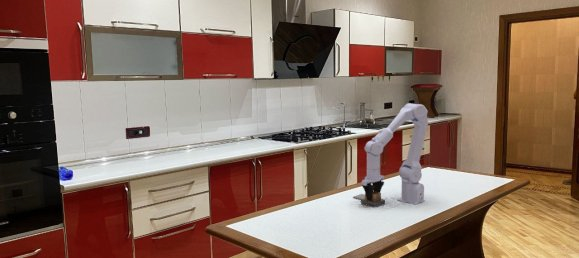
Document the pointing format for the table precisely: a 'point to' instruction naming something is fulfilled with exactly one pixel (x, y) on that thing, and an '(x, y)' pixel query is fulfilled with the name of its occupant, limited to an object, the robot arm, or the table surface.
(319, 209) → the table surface
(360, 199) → the mat
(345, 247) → the table surface
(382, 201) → the vise block
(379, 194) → the brown wooden box
